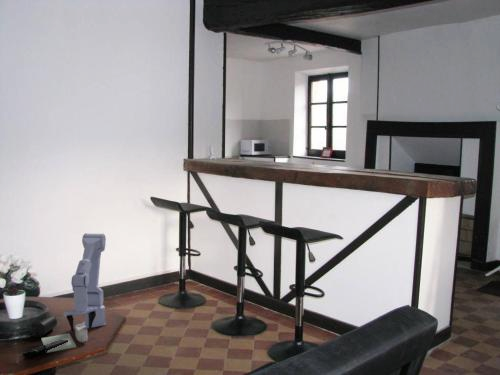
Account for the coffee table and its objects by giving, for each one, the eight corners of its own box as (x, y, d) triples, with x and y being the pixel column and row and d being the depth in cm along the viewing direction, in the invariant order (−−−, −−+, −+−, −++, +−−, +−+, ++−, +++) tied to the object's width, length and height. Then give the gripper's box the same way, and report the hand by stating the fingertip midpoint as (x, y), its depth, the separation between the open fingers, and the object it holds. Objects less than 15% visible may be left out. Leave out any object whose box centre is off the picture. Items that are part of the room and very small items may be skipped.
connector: (83, 333, 233) (83, 323, 233) (89, 343, 222) (89, 332, 222) (74, 335, 231) (74, 324, 231) (80, 345, 220) (80, 334, 220)
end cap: (45, 338, 228) (45, 323, 227) (31, 336, 229) (30, 322, 228) (57, 329, 237) (57, 315, 237) (43, 328, 238) (43, 314, 238)
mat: (69, 334, 232) (69, 333, 232) (76, 347, 218) (76, 346, 218) (41, 339, 226) (41, 338, 226) (46, 352, 212) (46, 351, 212)
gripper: (65, 305, 219) (66, 335, 220) (99, 300, 226) (99, 329, 227) (62, 300, 225) (63, 330, 226) (95, 296, 232) (96, 324, 233)
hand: (81, 329), depth 227 cm, fingers open, 7 cm apart
